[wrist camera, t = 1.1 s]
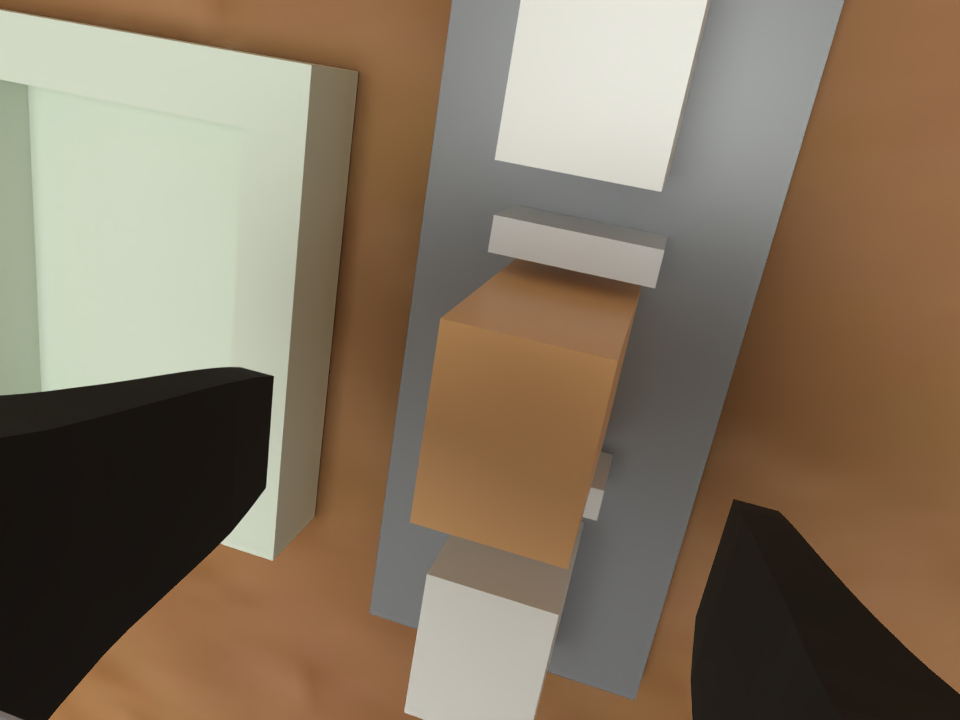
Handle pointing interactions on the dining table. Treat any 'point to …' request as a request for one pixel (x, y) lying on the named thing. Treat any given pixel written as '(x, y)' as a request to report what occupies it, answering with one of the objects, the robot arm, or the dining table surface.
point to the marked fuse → (522, 408)
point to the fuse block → (606, 253)
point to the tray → (174, 227)
